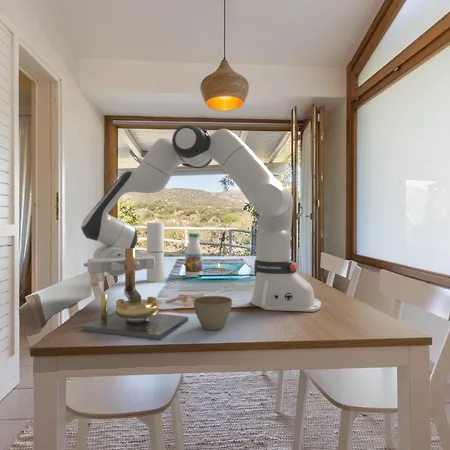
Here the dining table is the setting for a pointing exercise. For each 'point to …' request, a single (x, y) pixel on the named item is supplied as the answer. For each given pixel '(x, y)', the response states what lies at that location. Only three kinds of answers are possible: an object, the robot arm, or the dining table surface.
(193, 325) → the dining table surface
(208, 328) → the flower pot
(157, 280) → the cylindrical container
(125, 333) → the flange base
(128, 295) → the crank handle
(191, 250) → the milk bottle
